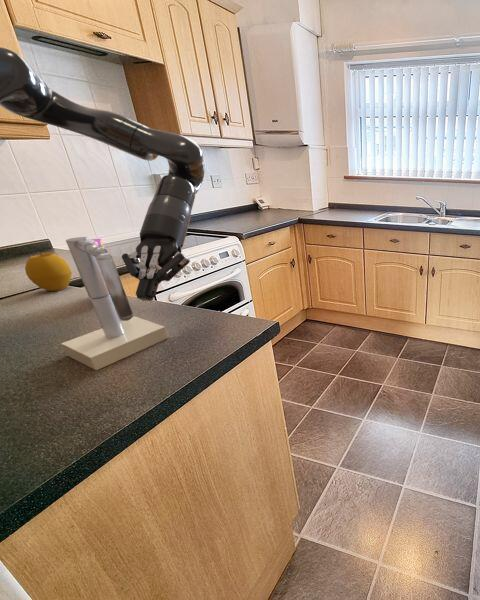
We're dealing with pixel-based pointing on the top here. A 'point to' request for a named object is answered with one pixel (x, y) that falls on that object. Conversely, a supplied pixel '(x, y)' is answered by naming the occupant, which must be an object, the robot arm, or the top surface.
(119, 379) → the top surface
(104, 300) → the tap stand
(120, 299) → the spout
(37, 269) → the yellow fruit
